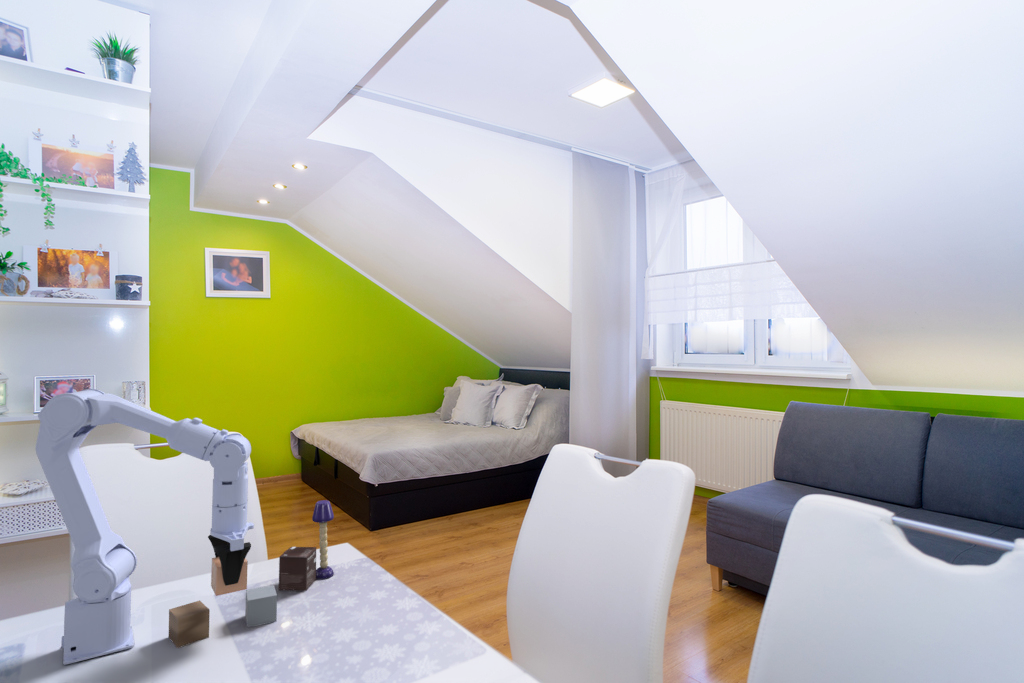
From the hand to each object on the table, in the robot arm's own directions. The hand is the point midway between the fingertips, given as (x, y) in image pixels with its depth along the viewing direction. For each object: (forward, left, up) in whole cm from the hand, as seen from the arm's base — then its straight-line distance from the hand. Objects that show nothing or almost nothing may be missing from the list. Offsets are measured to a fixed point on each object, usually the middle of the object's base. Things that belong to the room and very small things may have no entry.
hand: (228, 578), depth 102 cm
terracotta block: (0, 0, -2) cm, 2 cm away
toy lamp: (+22, +15, -10) cm, 29 cm away
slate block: (+6, +2, -10) cm, 12 cm away
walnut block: (-6, +2, -10) cm, 12 cm away
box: (+16, +13, -10) cm, 23 cm away
